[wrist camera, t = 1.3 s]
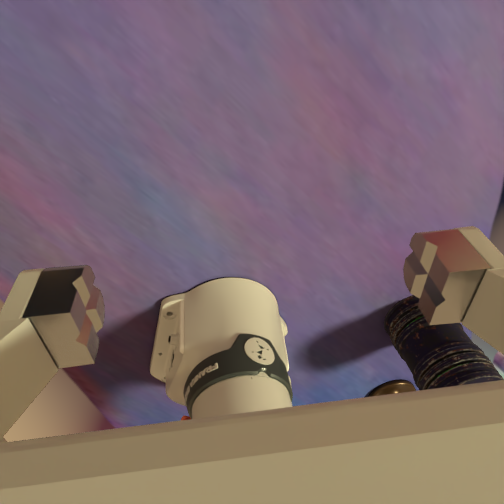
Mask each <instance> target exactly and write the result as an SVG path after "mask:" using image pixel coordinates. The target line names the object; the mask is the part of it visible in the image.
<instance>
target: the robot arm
mask: <svg viewBox="0 0 504 504" xmlns="http://www.w3.org/2000/svg"><path fill="white" fill-rule="evenodd" d="M409 246H410V247H411V249H412V250H413V252H412V253H411V254H410V255H409V256H408V257H407V258H406V259H405V263H404V268H403V272H404V280H405V283H406V286H407V288H408V290H409V292H410V293H411V294H413V295H414V296H416V297H418V298H419V299H420V300H419V303H418V307H419V309H420V310H421V312H422V314H423V315H424V317H425V319H426V321H427V322H428V324H429V325H438V324H449V323H461V322H462V325H464V326H465V327H466V328H468V329H469V330H471V331H472V332H473V333H475V334H476V335H477V336H479V337H480V338H481V339H483V340H484V341H486V342H487V343H488V344H490V345H491V346H492V347H494V348H495V349H496V350H498V351H499V352H501V353H502V354H503V355H504V256H503V255H502V254H501V252H500V251H499V250H498V249H497V248H496V247H495V246H494V245H493V244H492V243H491V242H490V241H489V240H488V238H487V237H486V236H485V235H484V234H483V233H482V232H481V231H480V230H479V229H478V228H476V227H473V226H470V227H462V228H454V229H449V230H439V231H429V232H420V233H415V234H414V235H413V237H412V238H411V242H410V245H409ZM94 279H95V275H94V273H93V271H92V268H91V267H90V266H88V265H79V266H66V267H52V268H45V269H31V270H24V271H22V272H21V273H20V274H19V275H18V277H17V279H16V281H15V283H14V285H13V287H12V289H11V291H10V293H9V295H8V297H7V300H6V302H5V304H4V306H3V308H2V310H1V312H0V504H504V380H499V381H491V382H483V383H475V384H467V385H460V386H452V387H444V388H436V389H428V390H420V391H412V392H404V393H396V394H388V395H380V396H372V397H364V398H356V399H348V400H341V401H333V402H325V403H317V404H309V405H301V406H292V403H291V402H292V396H293V394H292V389H291V387H292V386H291V380H290V377H289V376H288V373H287V371H288V369H289V363H288V357H287V351H286V346H285V340H284V336H285V335H286V334H287V325H286V323H285V322H284V321H283V319H282V318H281V317H280V315H279V311H278V304H277V301H276V299H275V297H274V295H273V294H272V293H271V292H270V291H269V290H268V289H267V288H266V287H265V286H263V285H261V284H259V283H257V282H255V281H252V280H248V279H243V278H222V279H217V280H213V281H209V282H207V283H204V284H202V285H200V286H198V287H196V288H194V289H193V290H191V291H189V292H187V293H183V294H178V295H173V296H170V297H167V298H165V299H163V301H162V302H161V307H160V313H159V318H158V324H157V329H156V335H155V340H154V346H153V352H152V357H151V363H150V373H151V375H152V376H154V377H155V378H157V379H159V380H161V381H163V382H165V383H166V394H167V396H168V397H169V398H170V399H171V400H173V401H174V402H176V403H179V404H181V405H184V406H187V410H188V413H189V416H190V417H188V416H183V417H182V419H181V421H173V422H165V423H157V424H149V425H141V426H133V427H125V428H117V429H110V430H101V431H93V432H85V433H78V434H69V435H61V436H54V437H46V438H38V439H30V440H22V441H14V442H7V441H6V440H5V439H4V438H3V436H4V435H5V434H6V433H7V431H8V430H9V429H10V428H11V427H12V425H13V424H14V423H15V422H16V421H17V419H18V418H19V417H20V416H21V415H22V413H23V412H24V411H25V410H26V409H27V408H28V406H29V405H30V404H31V403H32V402H33V400H34V399H35V398H36V397H37V395H38V394H39V393H40V392H41V391H42V389H43V388H44V387H45V386H46V385H47V384H48V382H49V381H50V380H51V379H52V378H53V377H54V375H55V374H56V373H57V372H58V369H59V368H66V367H73V366H80V365H87V364H94V363H95V359H96V355H97V351H98V346H99V342H100V340H99V338H98V336H97V332H98V331H99V330H100V329H101V328H102V327H103V323H104V318H105V305H104V300H103V296H102V293H101V291H100V289H98V288H97V287H95V286H94V285H93V283H94Z"/></svg>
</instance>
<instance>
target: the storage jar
mask: <svg viewBox="0 0 504 504" xmlns="http://www.w3.org/2000/svg"><path fill="white" fill-rule="evenodd" d="M419 300H420V299H419V298H418V297H416V296H414V295H413V296H410V297H407V298H405V299H403V300H402V301H400V302H399V303H397V304H396V305H395V306H394V307H393V308H392V309H391V310H390V311H389V312H388V314H387V316H386V318H385V321H384V327H385V330H386V332H387V333H388V335H389V336H390V339H391V341H392V344H393V345H394V347H395V349H396V350H397V351H398V353H399V355H400V356H401V358H402V359H403V360H404V361H405V362H406V363H407V365H408V367H409V369H410V370H411V372H412V374H413V378H414V381H415V384H416V386H417V387H418V388H419V390H428V389H436V388H444V387H452V386H460V385H467V384H475V383H483V382H491V381H499V380H504V379H503V378H502V376H501V375H499V373H498V371H497V370H496V369H495V367H494V365H493V364H492V362H491V361H490V360H489V358H488V357H487V356H485V355H484V352H483V351H482V350H481V349H480V348H479V347H478V346H477V345H475V344H474V343H473V342H472V341H471V340H470V338H469V337H468V336H467V334H466V333H465V332H464V331H463V327H462V325H461V324H460V323H449V324H438V325H429V324H428V322H427V321H426V319H425V317H424V315H423V314H422V312H421V310H420V309H419V307H418V303H419Z"/></svg>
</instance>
